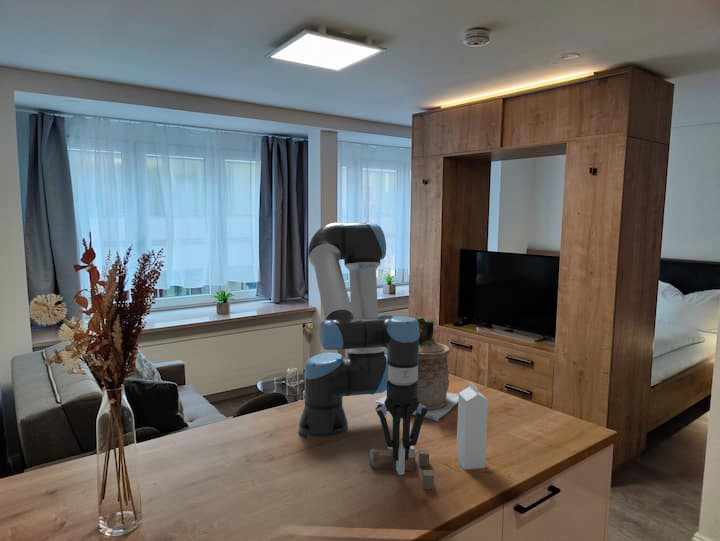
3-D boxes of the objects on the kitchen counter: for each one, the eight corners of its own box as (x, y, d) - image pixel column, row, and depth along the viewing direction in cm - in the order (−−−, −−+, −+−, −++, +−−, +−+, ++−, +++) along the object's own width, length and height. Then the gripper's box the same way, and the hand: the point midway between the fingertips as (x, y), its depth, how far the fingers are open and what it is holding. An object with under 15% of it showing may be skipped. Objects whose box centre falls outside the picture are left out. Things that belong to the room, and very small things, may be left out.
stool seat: (363, 494, 116) (363, 474, 115) (365, 462, 131) (365, 444, 130) (435, 497, 115) (435, 476, 114) (428, 464, 130) (429, 446, 129)
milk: (476, 457, 134) (480, 380, 132) (485, 468, 129) (489, 388, 126) (455, 458, 134) (458, 381, 131) (463, 470, 128) (467, 389, 125)
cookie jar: (465, 399, 176) (468, 313, 173) (438, 424, 156) (441, 326, 152) (404, 386, 189) (406, 305, 185) (372, 407, 169) (374, 317, 165)
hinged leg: (369, 467, 125) (369, 453, 125) (370, 461, 128) (370, 448, 128) (414, 470, 124) (415, 456, 124) (414, 464, 127) (415, 450, 127)
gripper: (379, 387, 113) (377, 482, 116) (432, 384, 115) (429, 477, 118) (373, 376, 121) (371, 466, 123) (423, 374, 123) (420, 462, 126)
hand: (400, 471), depth 121 cm, fingers closed
